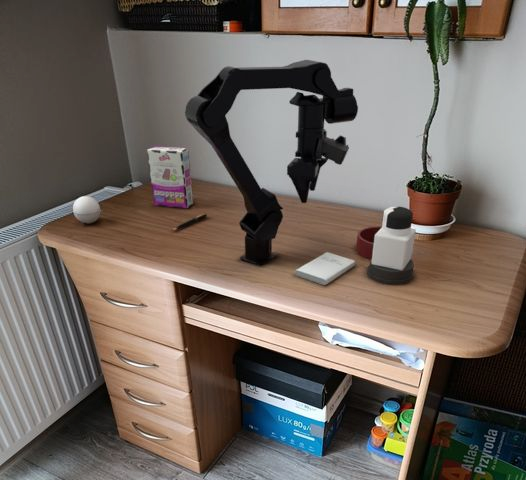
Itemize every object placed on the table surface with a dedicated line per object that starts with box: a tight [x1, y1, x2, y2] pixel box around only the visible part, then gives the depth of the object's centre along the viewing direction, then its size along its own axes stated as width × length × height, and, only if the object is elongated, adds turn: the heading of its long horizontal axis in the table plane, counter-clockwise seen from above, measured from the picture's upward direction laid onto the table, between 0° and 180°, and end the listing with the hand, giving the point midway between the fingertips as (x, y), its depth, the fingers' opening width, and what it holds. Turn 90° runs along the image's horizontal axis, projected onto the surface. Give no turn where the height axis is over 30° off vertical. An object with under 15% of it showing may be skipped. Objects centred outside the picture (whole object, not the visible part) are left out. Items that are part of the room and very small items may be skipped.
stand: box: [366, 258, 415, 286], centre depth 116 cm, size 10×10×3 cm
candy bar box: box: [146, 146, 194, 209], centre depth 152 cm, size 11×5×16 cm, turn 73°
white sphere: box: [72, 195, 102, 224], centre depth 142 cm, size 10×7×7 cm
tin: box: [355, 225, 382, 260], centre depth 126 cm, size 12×12×4 cm
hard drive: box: [294, 251, 356, 286], centre depth 118 cm, size 2×8×12 cm
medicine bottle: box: [372, 206, 417, 271], centre depth 112 cm, size 7×7×12 cm
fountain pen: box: [172, 213, 208, 231], centre depth 143 cm, size 14×1×2 cm, turn 145°
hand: (308, 196), depth 122 cm, fingers open, 9 cm apart
